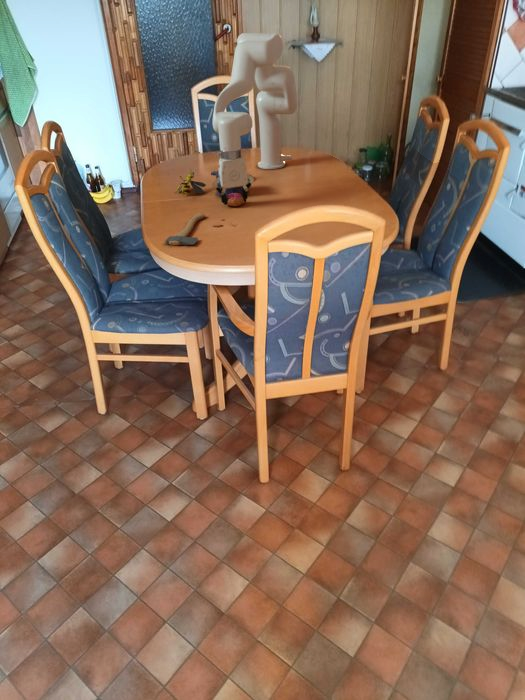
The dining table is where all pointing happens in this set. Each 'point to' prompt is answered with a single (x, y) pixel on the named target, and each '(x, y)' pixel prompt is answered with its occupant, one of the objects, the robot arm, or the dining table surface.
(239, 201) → the donut
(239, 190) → the pot
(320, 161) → the dining table surface
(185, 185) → the toy
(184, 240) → the hand axe
